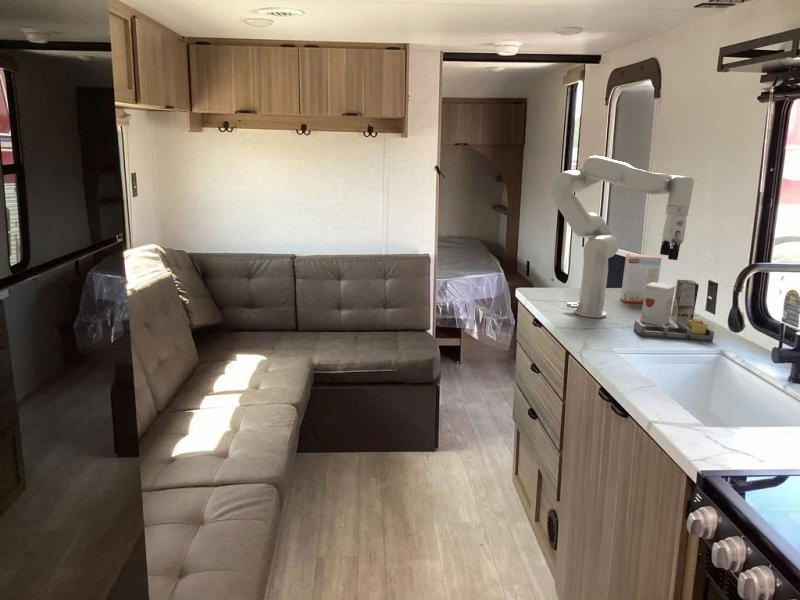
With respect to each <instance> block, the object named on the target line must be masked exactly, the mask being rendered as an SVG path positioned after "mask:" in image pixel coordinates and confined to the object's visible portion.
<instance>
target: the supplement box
mask: <svg viewBox="0 0 800 600" xmlns="http://www.w3.org/2000/svg"><path fill="white" fill-rule="evenodd" d="M675 290H676V285H671V284H666V283H660V282H658V283H655V282H651V283H649V284H647V285H646V287H645V294H644V300H643V303H642V307H641V313H640V319H639V321H640V322H641V323H645V324H650V325H653V326H656V322H657V321H659V322H662V323H663V324H664V325H665V326H666V325H668V323H670V317H671V314H672V313H671V311H672V308H673V306H672V305H673V302H674V296H675Z"/></svg>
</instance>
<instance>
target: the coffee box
mask: <svg viewBox="0 0 800 600" xmlns="http://www.w3.org/2000/svg"><path fill="white" fill-rule="evenodd" d="M699 287H700V285H699V283H697V282H696V281H694V280H691V279H688V280H687V279H676V285H675V290H674V296H673V303H672V305H673V306H672V310H671V311H672V313H671V316H670V317H671V319H672V320H673V321H674V322H675V324H679V323H683V324H685V325H687V321H688V320H692V319H694V315H695V309H696V303H697V297H698V293H699Z"/></svg>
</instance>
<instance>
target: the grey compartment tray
mask: <svg viewBox="0 0 800 600" xmlns="http://www.w3.org/2000/svg"><path fill="white" fill-rule="evenodd" d="M633 331H634V332H635V333H636V334H637V335H638V337H641V338H649V339H650V338H651V339H659V340H660V339H661V340H662V339H663V340H674V341H675V340H676V341H686V342H687V341H689V342H698V343H699V342H701V343H713V339H714V337H715V336H714V334H715V331H714V330H712V329H711V328H710V327H708V326H707V328H706V333H705V335H698V334H691V331H692V330H691V329H690V328H688V327H687V324H683V323H678V325H677V327H675V326H672V327H671V326H666V325H664V324H663V323H662V322H659V321H657V322H656V325H648V324H647V325H646V324H643V322H640V319H634V325H633Z"/></svg>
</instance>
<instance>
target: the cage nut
mask: <svg viewBox="0 0 800 600" xmlns="http://www.w3.org/2000/svg"><path fill="white" fill-rule="evenodd" d="M686 326H687V327H688V328H690V329H691V330H692V331H691V334H698V335H705V333H706V328H707V327H708V323H706V322H705V321H703V320H702V319H698V318H697V319H696V318H693V319H692V320H688V321H687V324H686Z"/></svg>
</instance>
